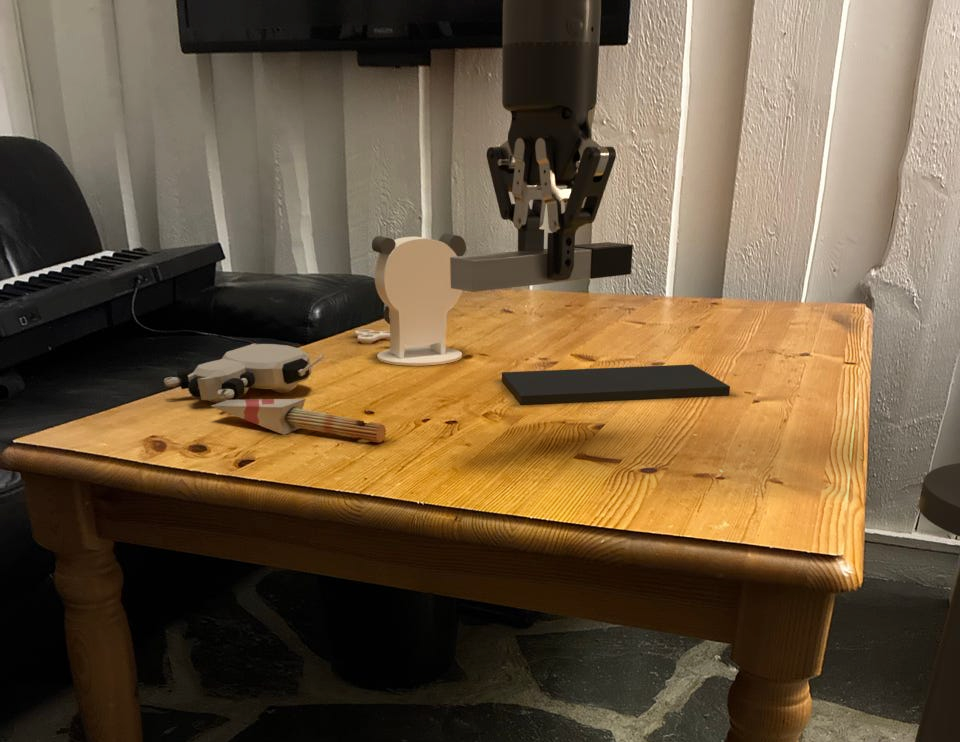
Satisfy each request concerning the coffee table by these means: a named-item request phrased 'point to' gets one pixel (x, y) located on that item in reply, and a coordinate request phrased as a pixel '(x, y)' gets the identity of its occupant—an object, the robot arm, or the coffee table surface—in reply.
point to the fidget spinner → (371, 335)
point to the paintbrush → (299, 418)
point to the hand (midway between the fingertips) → (544, 276)
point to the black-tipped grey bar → (537, 267)
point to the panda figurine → (417, 297)
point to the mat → (612, 384)
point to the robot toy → (246, 372)
